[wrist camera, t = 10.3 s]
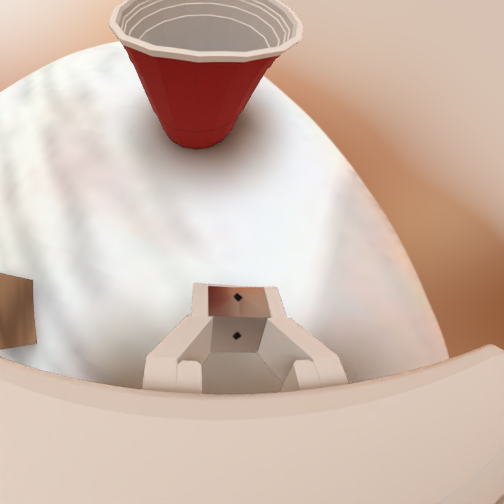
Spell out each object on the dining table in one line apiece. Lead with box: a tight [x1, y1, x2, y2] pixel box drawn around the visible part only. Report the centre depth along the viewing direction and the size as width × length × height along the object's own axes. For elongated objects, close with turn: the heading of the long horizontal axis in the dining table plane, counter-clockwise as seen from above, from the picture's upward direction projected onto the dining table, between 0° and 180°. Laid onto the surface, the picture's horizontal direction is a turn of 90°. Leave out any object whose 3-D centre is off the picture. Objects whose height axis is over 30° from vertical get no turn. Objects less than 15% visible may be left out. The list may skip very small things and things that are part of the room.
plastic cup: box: [109, 0, 303, 149], centre depth 15 cm, size 11×11×12 cm
